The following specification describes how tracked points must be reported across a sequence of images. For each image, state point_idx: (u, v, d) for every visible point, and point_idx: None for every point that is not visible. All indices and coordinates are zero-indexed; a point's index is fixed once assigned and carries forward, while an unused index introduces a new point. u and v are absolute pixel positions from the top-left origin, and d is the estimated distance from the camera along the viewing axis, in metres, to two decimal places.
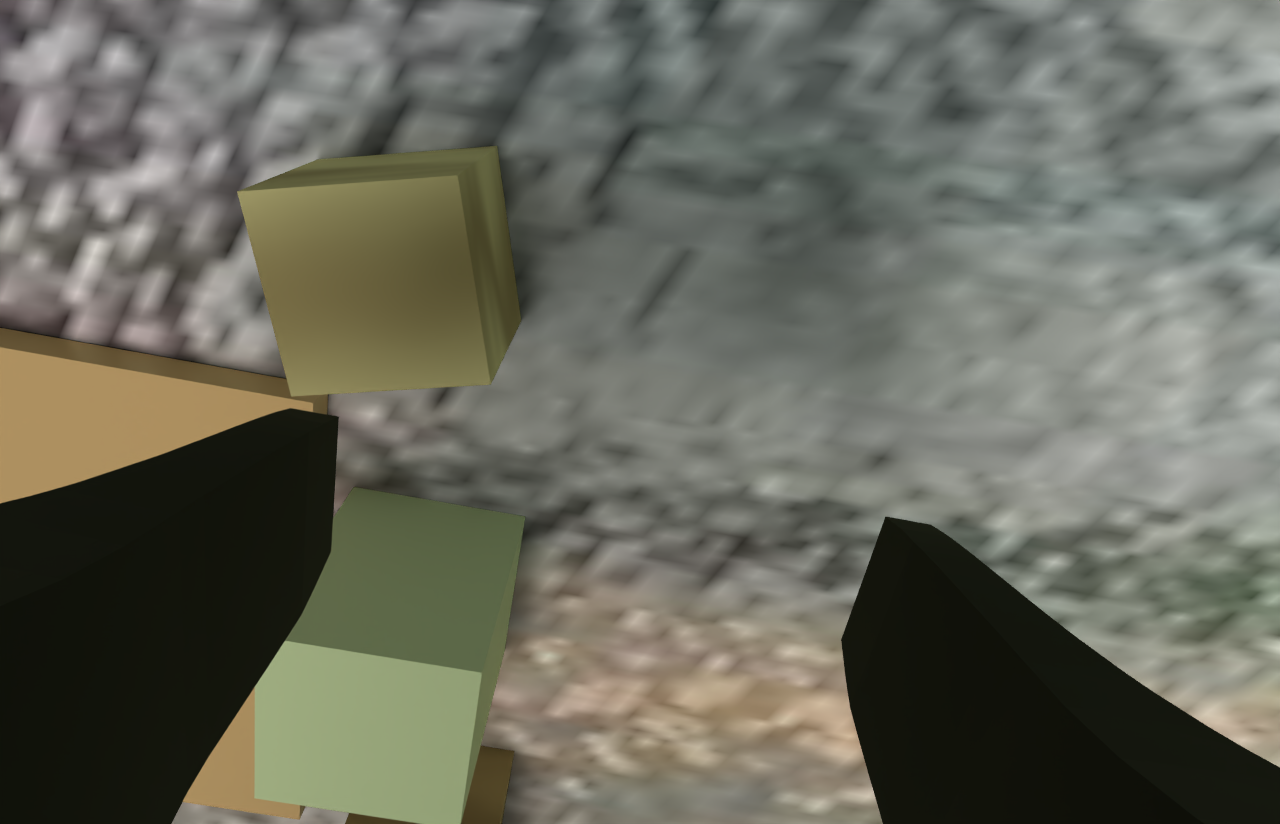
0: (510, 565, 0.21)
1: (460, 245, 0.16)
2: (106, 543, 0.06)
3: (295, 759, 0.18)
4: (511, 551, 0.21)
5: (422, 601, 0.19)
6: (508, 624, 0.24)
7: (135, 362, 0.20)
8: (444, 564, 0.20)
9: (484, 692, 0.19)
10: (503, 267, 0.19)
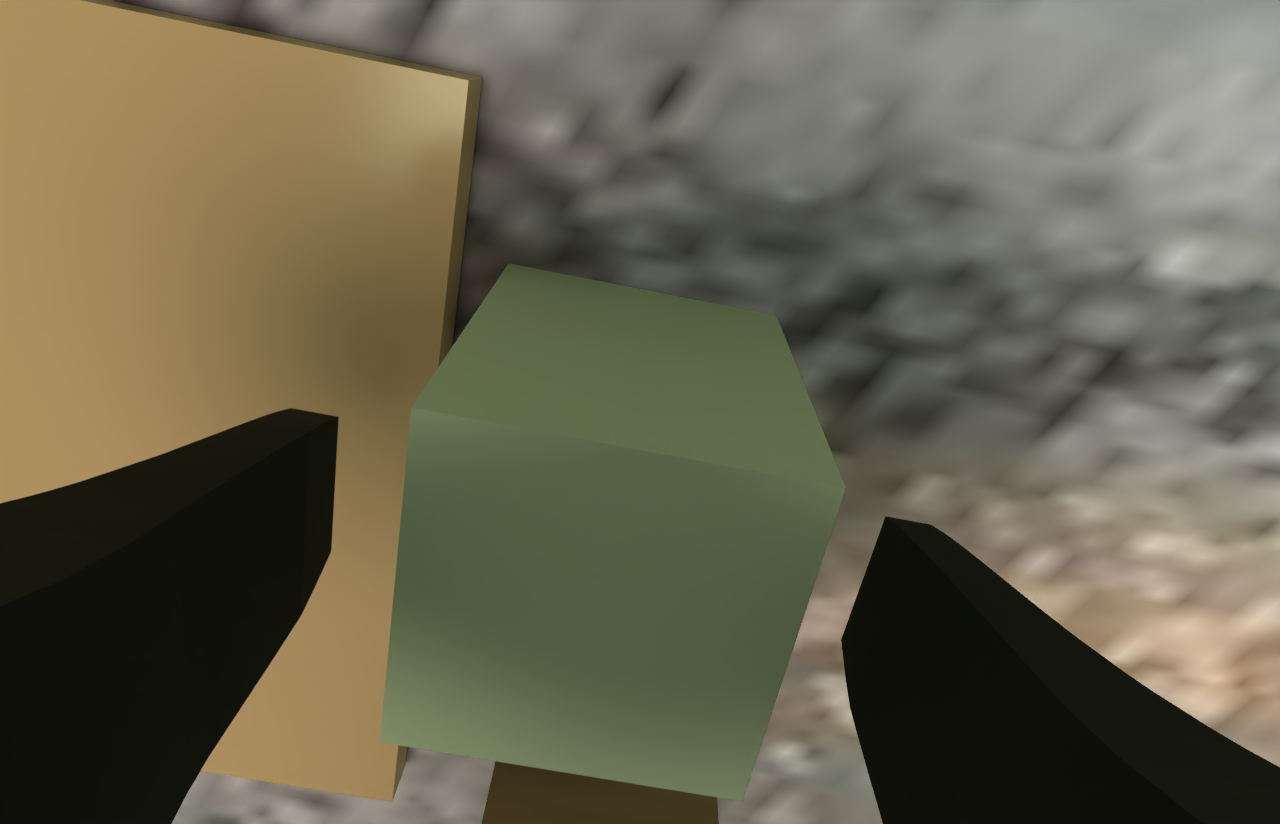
0: (793, 361, 0.12)
1: None
2: (106, 543, 0.06)
3: (462, 667, 0.10)
4: (783, 347, 0.13)
5: (682, 389, 0.11)
6: None
7: (168, 15, 0.12)
8: (692, 352, 0.12)
9: None
10: None
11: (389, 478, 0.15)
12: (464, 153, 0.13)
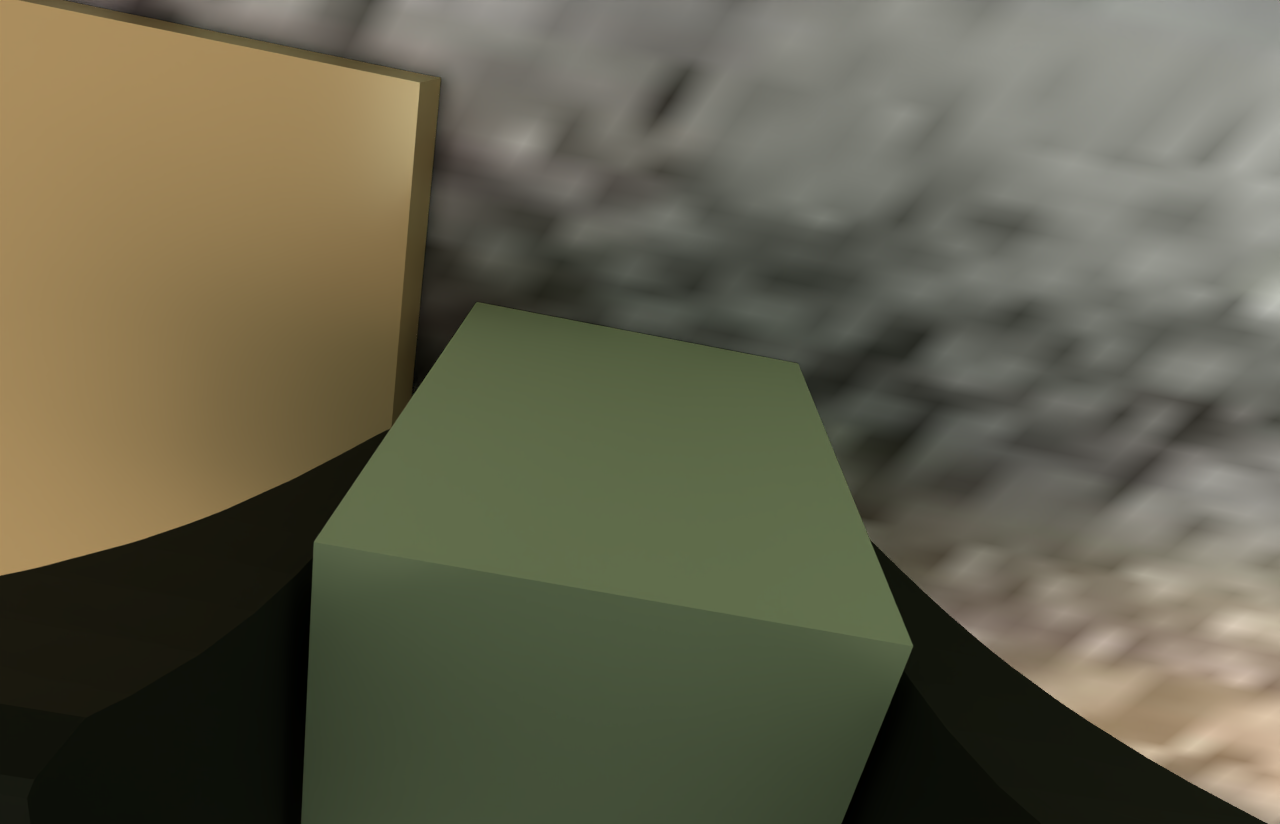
0: (824, 433, 0.10)
1: None
2: (278, 572, 0.07)
3: None
4: (810, 411, 0.10)
5: (687, 485, 0.08)
6: None
7: (47, 2, 0.10)
8: (700, 425, 0.09)
9: None
10: None
11: None
12: (418, 172, 0.10)
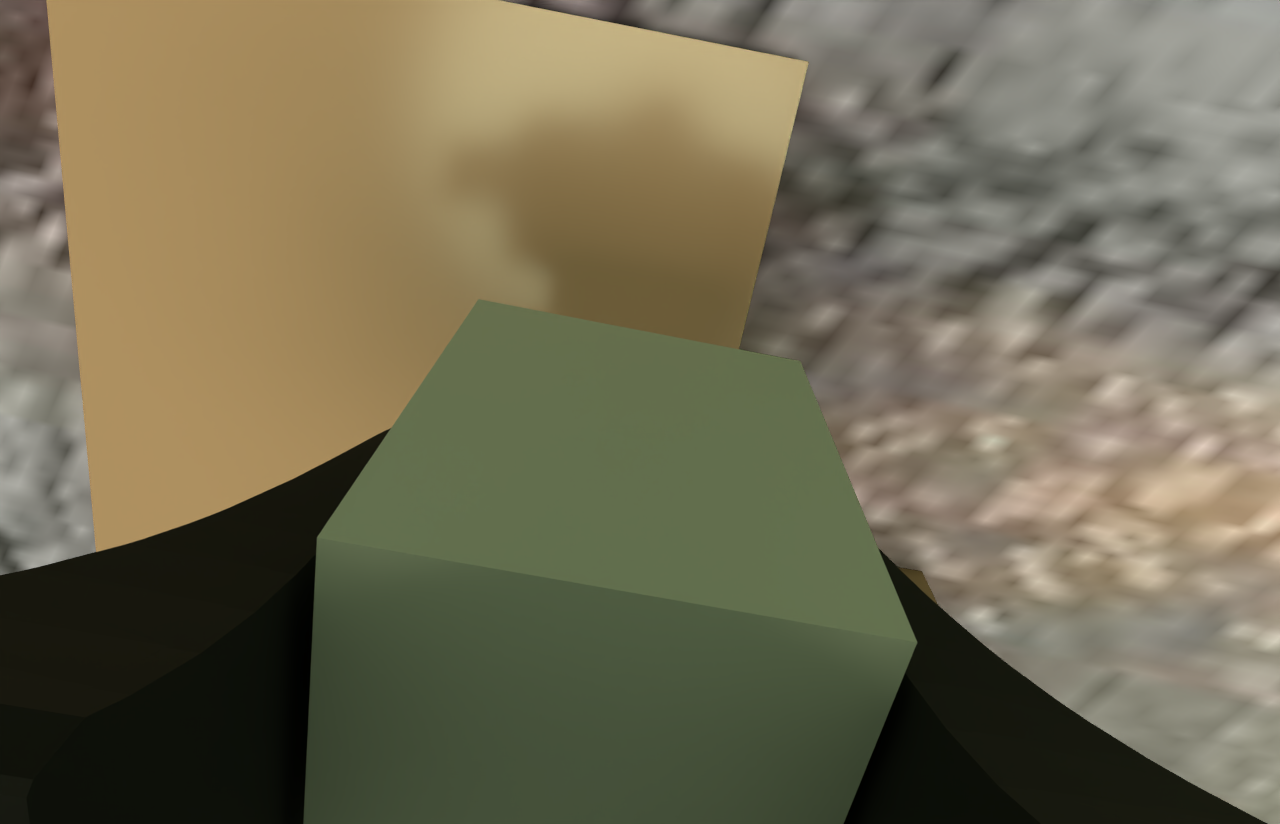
0: (827, 430, 0.10)
1: None
2: (277, 572, 0.07)
3: None
4: (812, 408, 0.10)
5: (690, 482, 0.08)
6: None
7: None
8: (702, 422, 0.09)
9: None
10: None
11: None
12: None
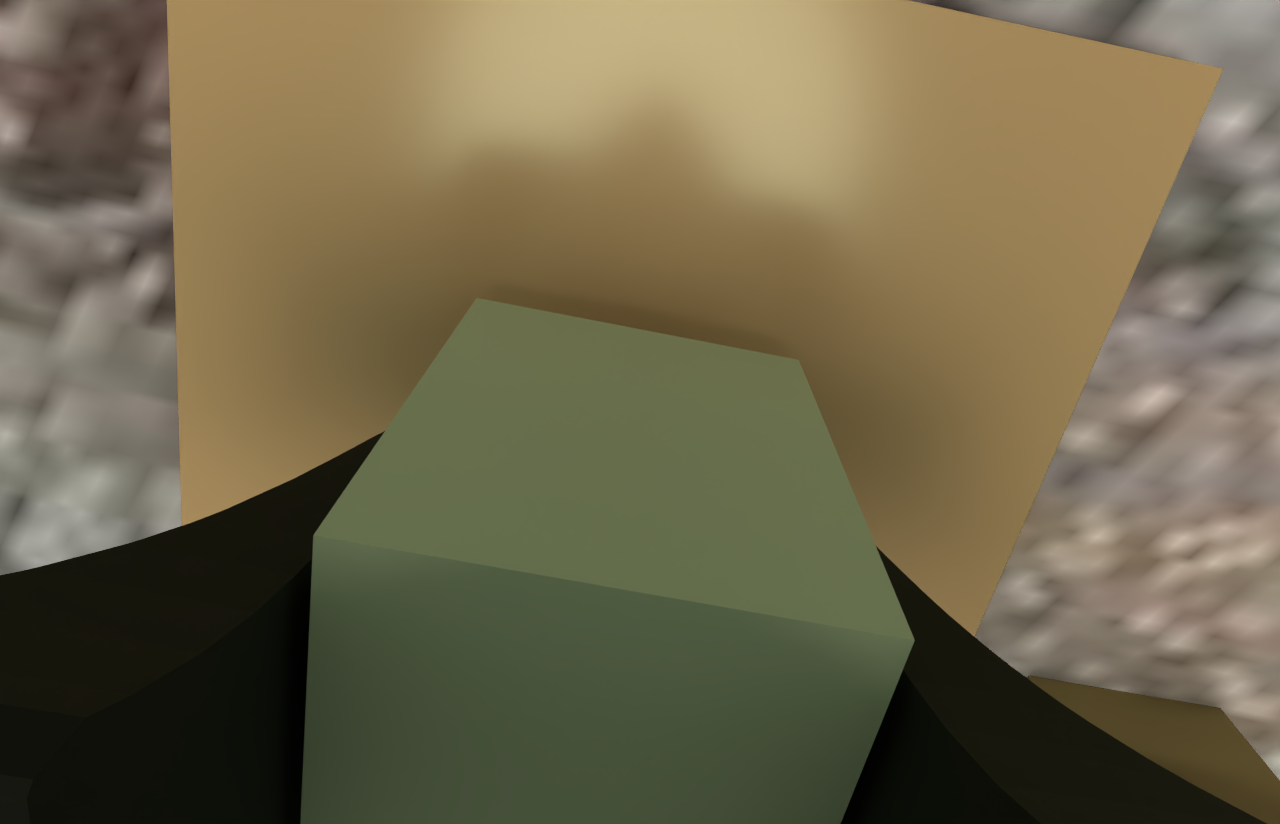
0: (825, 428, 0.10)
1: None
2: (277, 572, 0.07)
3: None
4: (811, 407, 0.10)
5: (688, 479, 0.08)
6: None
7: None
8: (700, 421, 0.09)
9: None
10: None
11: (1003, 481, 0.14)
12: None
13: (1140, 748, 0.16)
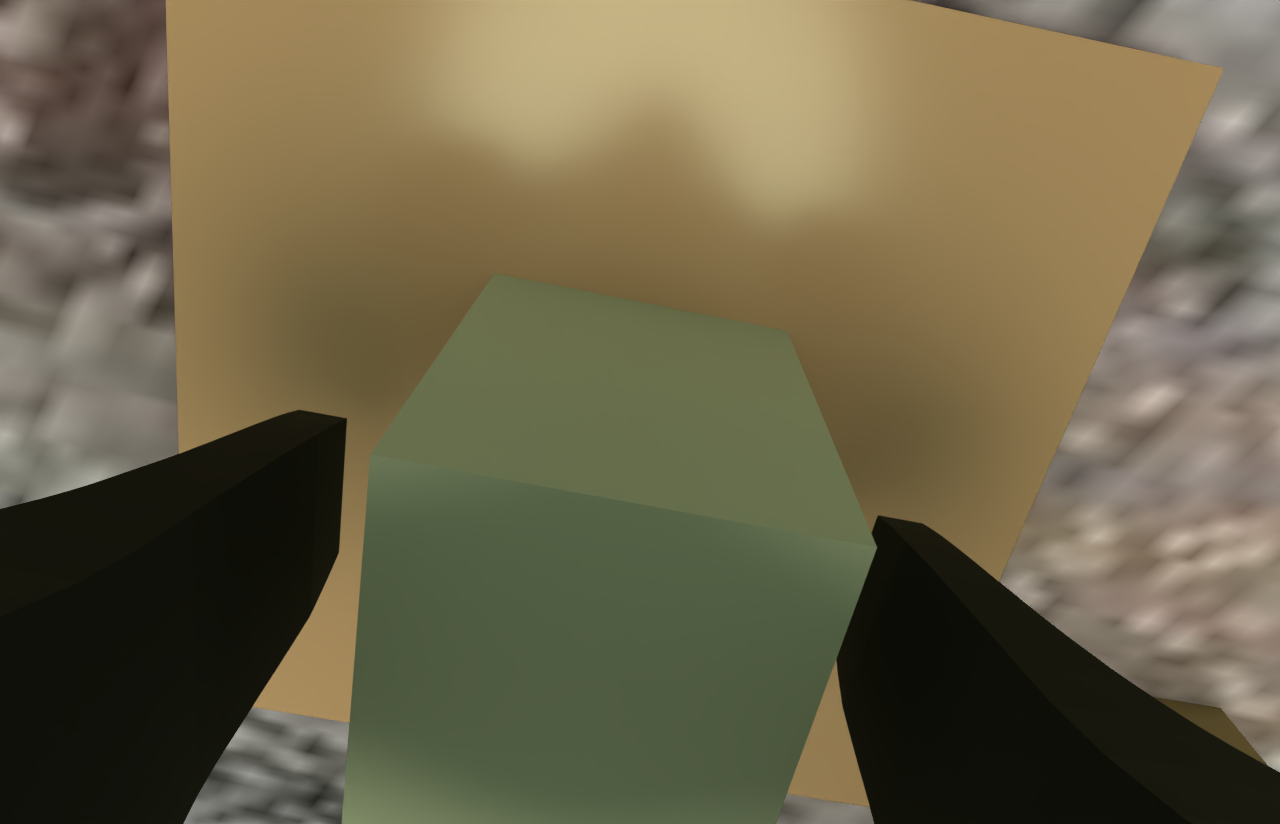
0: (808, 387, 0.11)
1: None
2: (120, 546, 0.06)
3: (434, 743, 0.09)
4: (797, 369, 0.12)
5: (686, 423, 0.09)
6: None
7: None
8: (697, 377, 0.11)
9: None
10: None
11: (1003, 481, 0.14)
12: None
13: None
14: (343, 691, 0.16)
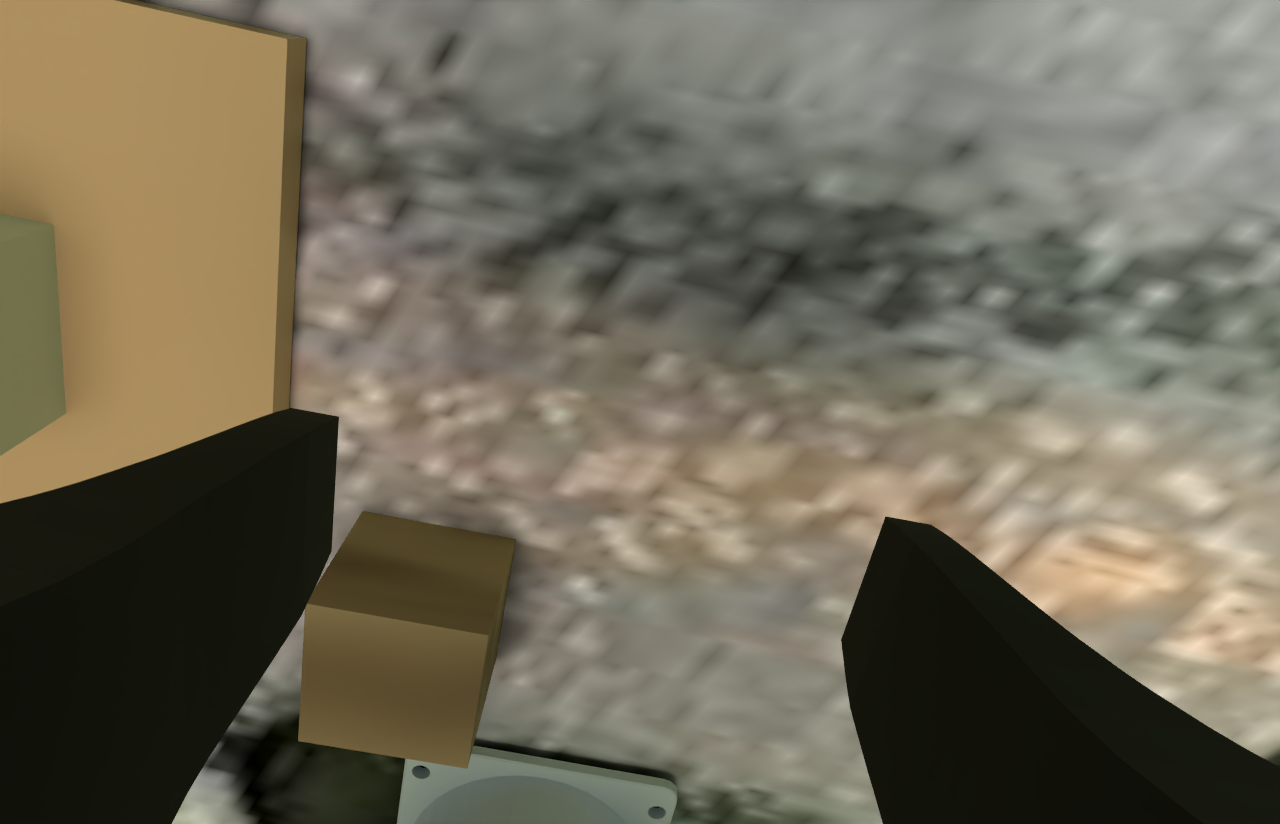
0: None
1: None
2: (106, 543, 0.06)
3: None
4: None
5: None
6: (60, 377, 0.20)
7: None
8: None
9: None
10: None
11: (247, 343, 0.19)
12: (290, 93, 0.17)
13: (403, 555, 0.21)
14: None
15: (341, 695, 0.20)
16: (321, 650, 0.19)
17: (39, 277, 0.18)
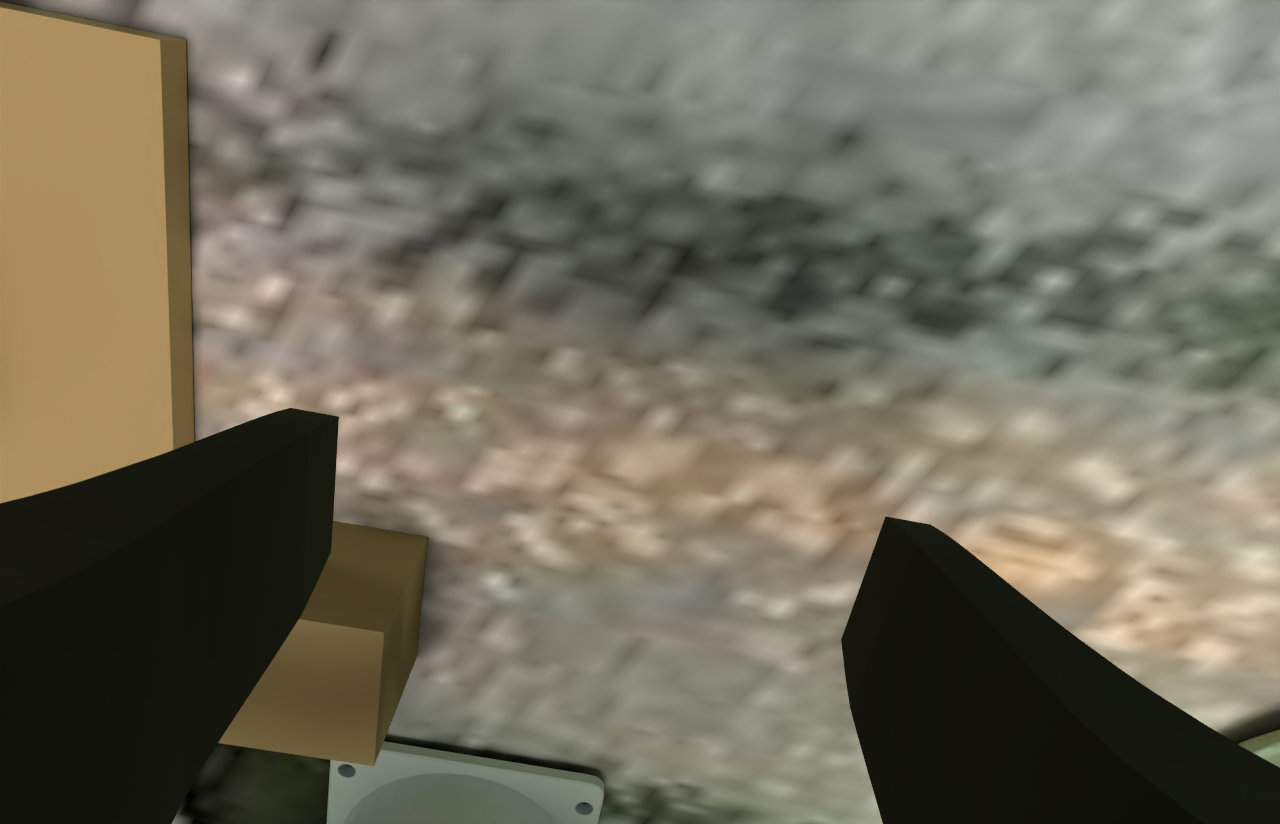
0: None
1: None
2: (106, 543, 0.06)
3: None
4: None
5: None
6: None
7: None
8: None
9: None
10: None
11: (142, 344, 0.19)
12: (168, 94, 0.17)
13: None
14: None
15: None
16: None
17: None
